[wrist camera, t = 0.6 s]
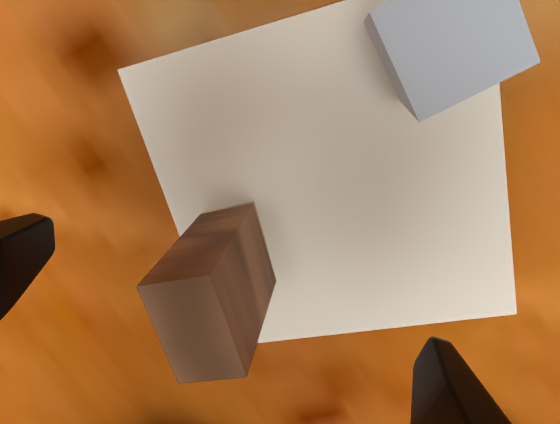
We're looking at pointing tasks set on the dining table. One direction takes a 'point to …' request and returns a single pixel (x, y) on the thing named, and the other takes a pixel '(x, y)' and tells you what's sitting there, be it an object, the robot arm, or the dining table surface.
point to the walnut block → (212, 295)
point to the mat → (334, 174)
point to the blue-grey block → (449, 48)
